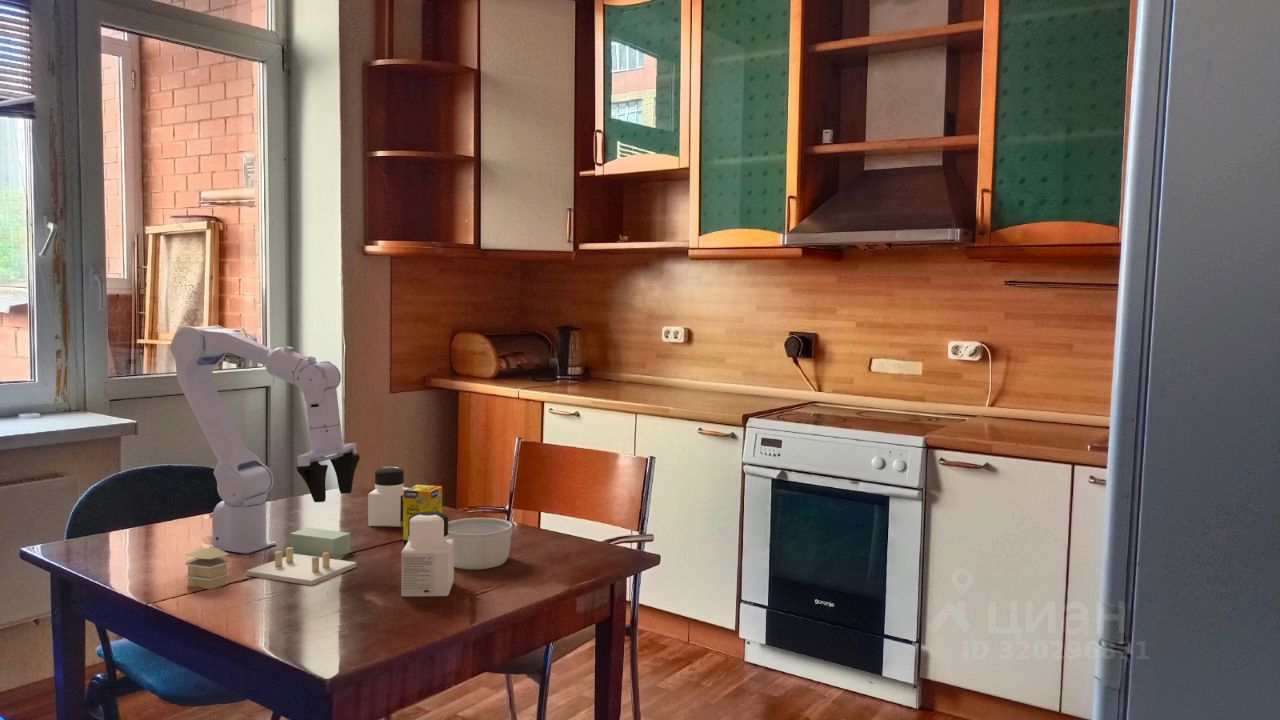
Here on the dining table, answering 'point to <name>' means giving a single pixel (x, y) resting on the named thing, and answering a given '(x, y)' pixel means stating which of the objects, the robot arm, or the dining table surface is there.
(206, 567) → the beige tiered box
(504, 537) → the ramekin
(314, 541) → the rectangular block
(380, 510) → the medicine bottle
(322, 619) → the dining table surface
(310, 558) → the cream peg board
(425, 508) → the supplement box
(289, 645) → the dining table surface
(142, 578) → the dining table surface
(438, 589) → the container
